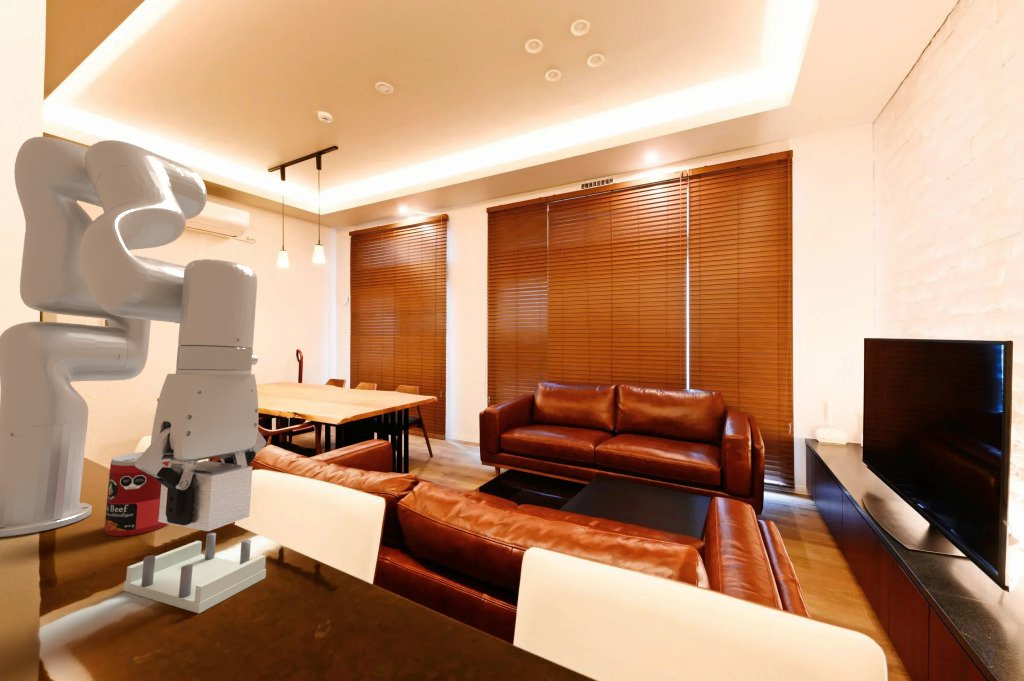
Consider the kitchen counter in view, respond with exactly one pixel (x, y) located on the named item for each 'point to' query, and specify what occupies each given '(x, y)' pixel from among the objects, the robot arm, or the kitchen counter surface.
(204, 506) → the box
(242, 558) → the tray
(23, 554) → the kitchen counter surface
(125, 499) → the canned food
